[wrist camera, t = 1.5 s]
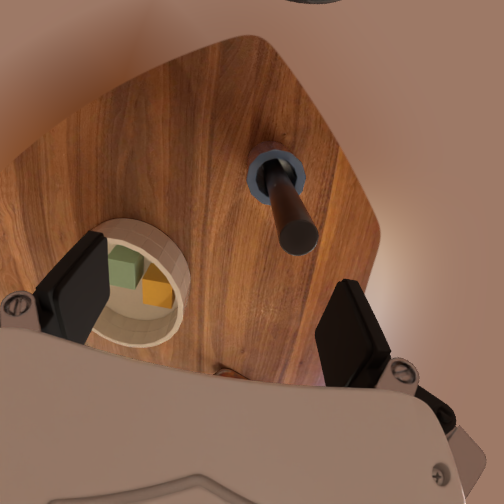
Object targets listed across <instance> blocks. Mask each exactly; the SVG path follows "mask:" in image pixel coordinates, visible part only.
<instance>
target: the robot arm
mask: <svg viewBox="0 0 504 504" xmlns="http://www.w3.org/2000/svg"><path fill="white" fill-rule="evenodd" d="M109 297H110V282H109V266H108V241H107V238H106V237H104V234H103V233H101V232H96V231H88V232H87V233H86V234H85V235H84V236H83V237H82V238H81V239H80V240H79V241H78V242H77V243H76V244H75V245H74V246H73V247H72V248H71V249H70V251H69V252H68V253H67V254H66V255H65V256H64V257H63V258H62V259H61V260H60V261H59V262H58V263H57V264H56V266H55V267H54V268H53V269H52V270H51V271H50V272H49V273H48V274H47V276H46V277H45V278H44V279H43V280H42V281H41V282H40V284H39V285H38V286H37V287H36V291H35V292H34V293H33V294H31V293H29V292H27V291H16V292H13V293H10V294H9V295H7V296H6V297H5V298H4V299H3V301H2V302H1V305H0V504H466V502H465V499H466V497H467V496H468V495H469V493H470V492H471V490H472V488H473V487H474V485H475V484H476V482H477V480H478V479H479V477H480V476H481V474H482V472H483V470H484V469H485V466H486V456H485V454H484V452H483V451H482V450H481V448H480V447H479V446H478V445H477V444H476V443H475V442H474V441H473V440H472V438H471V437H470V436H469V435H468V434H467V433H466V432H465V431H464V430H463V428H462V427H461V426H458V427H456V426H455V425H456V416H455V414H454V412H453V410H452V409H451V408H450V407H449V406H448V405H447V404H445V403H444V402H442V401H441V400H439V399H438V398H437V397H435V396H434V395H432V394H431V393H429V392H428V391H426V390H425V389H423V388H422V387H420V386H419V385H418V383H419V373H418V371H417V369H416V367H415V366H414V365H413V364H412V363H410V362H409V361H408V360H405V359H403V358H399V357H398V358H393V359H391V356H390V353H391V350H390V347H389V345H388V343H387V341H386V338H385V336H384V334H383V332H382V330H381V328H380V326H379V323H378V321H377V319H376V317H375V315H374V313H373V311H372V309H371V307H370V305H369V303H368V301H367V299H366V297H365V295H364V293H363V291H362V289H361V287H360V285H359V283H358V282H357V281H355V280H349V279H343V280H342V281H341V282H340V281H339V282H338V283H337V285H336V287H335V289H334V292H333V294H332V296H331V298H330V300H329V302H328V305H327V307H326V309H325V311H324V313H323V315H322V317H321V320H320V322H319V324H318V326H317V328H316V330H315V339H316V344H317V348H318V352H319V357H320V361H321V366H322V370H323V375H324V379H325V384H326V387H324V386H307V385H293V384H281V383H271V382H261V381H253V380H245V379H237V378H230V377H223V376H216V375H210V374H204V373H199V372H193V371H188V370H182V369H177V368H172V367H168V366H163V365H158V364H154V363H149V362H145V361H141V360H137V359H133V358H129V357H125V356H121V355H117V354H113V353H110V352H106V351H103V350H99V349H96V348H92V347H89V346H86V345H84V344H85V342H86V340H87V338H88V336H89V334H90V332H91V330H92V328H93V327H94V325H95V323H96V321H97V319H98V318H99V316H100V314H101V312H102V310H103V309H104V307H105V305H106V303H107V302H108V300H109Z"/></svg>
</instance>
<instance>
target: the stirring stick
mask: <svg viewBox="0 0 504 504" xmlns="http://www.w3.org/2000/svg"><path fill="white" fill-rule="evenodd" d="M262 168H263V172H264V177H265V181H266V185H267V189H268V194H269V198H270V202H271V207H272V211H273V216H274V220H275V225H276V229H277V234H278V238H279V243H280V245H281V247H282V249H283V250H284V251H285V252H287V253H288V254H290V255H294V256H301V255H305V254H307V253H309V252H311V251H312V250H313V249H314V248H315V246H316V244H317V242H318V237H319V235H318V230H317V228H316V226H315V225H314V223H313V221H312V219H311V217H310V215H309V213H308V211H307V210H306V208H305V206H304V204H303V202H302V200H301V199H300V197H299V195H298V193H297V191H296V190H295V188H294V186H293V184H292V182H291V181H290V179H289V177H288V175H287V174H286V172H285V170H284V169H283V167H282V165H281V163H280V162H279V160H278V159H277V158H274V159H271V160H268V161H265V162H264V163H263V164H262Z"/></svg>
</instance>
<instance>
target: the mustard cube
mask: <svg viewBox="0 0 504 504" xmlns="http://www.w3.org/2000/svg"><path fill="white" fill-rule="evenodd" d="M142 294H143V304H148V305H153V306H158V307H163V308H168V309H172V307H173V304H174V301H175V298H176V296H175V292H174V290H173V288H172V286H171V284H170V283H169V281H168V279H167V277H166V276H165V275H164V274H163V273H162V272H161V271H160V269H159V268H158V267H157V266H156V265H155V264H154V263H150V265H149V267H148V269H147V271H146V273H145V274H144V276H143V278H142Z"/></svg>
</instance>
